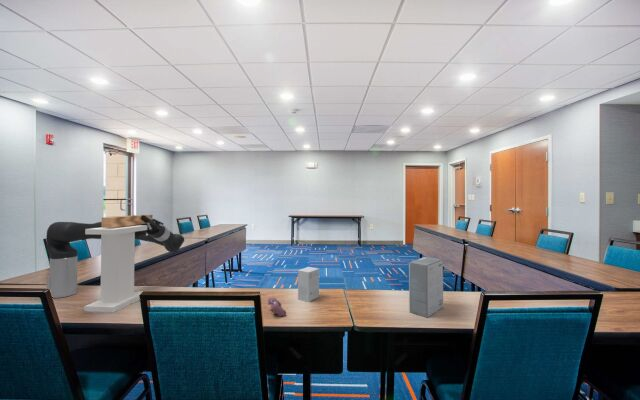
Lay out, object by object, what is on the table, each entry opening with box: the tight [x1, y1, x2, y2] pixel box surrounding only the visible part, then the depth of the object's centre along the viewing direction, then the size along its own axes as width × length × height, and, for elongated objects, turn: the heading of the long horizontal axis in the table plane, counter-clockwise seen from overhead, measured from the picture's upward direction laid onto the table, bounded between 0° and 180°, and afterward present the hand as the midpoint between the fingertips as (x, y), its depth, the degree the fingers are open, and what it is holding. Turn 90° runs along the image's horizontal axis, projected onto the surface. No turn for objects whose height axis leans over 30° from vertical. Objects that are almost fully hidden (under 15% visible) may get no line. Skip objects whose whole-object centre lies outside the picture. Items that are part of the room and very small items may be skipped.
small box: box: [297, 266, 320, 303], centre depth 121 cm, size 8×6×13 cm
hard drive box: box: [408, 256, 444, 318], centre depth 109 cm, size 16×8×20 cm, turn 134°
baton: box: [101, 214, 153, 228], centre depth 119 cm, size 24×4×4 cm, turn 176°
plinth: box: [83, 225, 147, 313], centre depth 113 cm, size 18×12×32 cm, turn 176°
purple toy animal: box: [267, 296, 287, 317], centre depth 105 cm, size 10×5×7 cm, turn 21°
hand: (137, 216), depth 124 cm, fingers closed on baton, 4 cm apart
